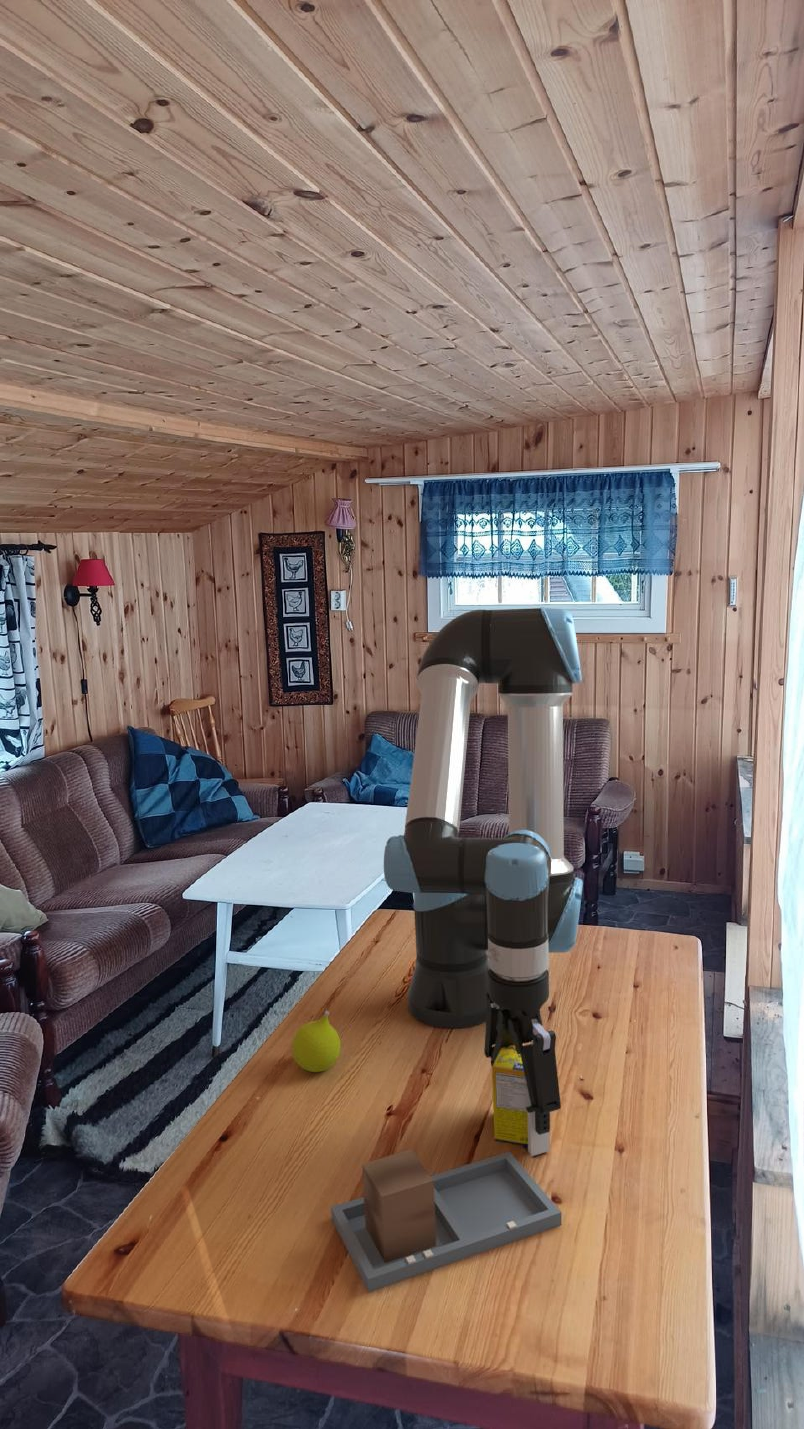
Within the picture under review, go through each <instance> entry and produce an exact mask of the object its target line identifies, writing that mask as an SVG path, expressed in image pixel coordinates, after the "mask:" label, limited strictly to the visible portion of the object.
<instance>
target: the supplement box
mask: <svg viewBox="0 0 804 1429" xmlns="http://www.w3.org/2000/svg"><path fill="white" fill-rule="evenodd" d="M491 1072H492V1074H491V1078H492V1079H491V1080H492V1103H493V1104H492V1106H493V1108H492V1109H493V1132H494V1136H493V1137H494V1141H496V1142H501V1143H507V1144H512V1145H518V1146H522V1148H523V1149H527V1150H528V1121H527V1109H526V1107H527V1106H529V1105H531V1102H530V1097H529V1092H528V1088H527V1083H526V1078H525V1073H524V1069H523V1064H522V1059H521V1055H520V1054H519V1053H517V1052H516V1048H515V1045H511V1046H507V1047H503V1048H501V1050H500V1052H499V1054H498V1056H497V1058H496V1060H495V1062H494V1064H493V1067H492V1066H491Z"/></svg>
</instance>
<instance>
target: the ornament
mask: <svg viewBox="0 0 804 1429" xmlns="http://www.w3.org/2000/svg"><path fill="white" fill-rule="evenodd" d="M329 1015H330V1012H329V1010H325V1012H324V1014H323V1016H322V1017H321V1018H320V1019H318V1020H313V1021H309V1022H306V1023H305V1024H303V1025H301V1027H299V1029H297V1031H296V1032H295V1034H294V1037H293V1039H292V1043H291V1052H292V1056H293V1058H294V1060H295V1062H296V1063H297V1064H298V1066H299V1067H300V1068H302V1069H303V1070H305V1071H308V1072H310V1073H311V1072H312V1073H320V1072H324V1071H327V1070H329V1069H330V1068H331V1067H332V1066H334V1064H335V1063H336V1062H337V1060H338V1059H339V1056H340V1053H341V1047H342V1046H341V1038H340V1036H339V1033H338V1032H337V1030H336V1029H335V1028H334V1027H333V1026H332V1024H330V1021H329Z"/></svg>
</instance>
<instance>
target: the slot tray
mask: <svg viewBox="0 0 804 1429" xmlns="http://www.w3.org/2000/svg"><path fill="white" fill-rule="evenodd" d="M430 1176H431V1177H432V1179H433V1180H434V1203H435V1228H436V1246H434V1247H431V1248H428V1249H425V1250H422V1251H419V1252H416V1253H413V1254H411V1255H408V1256H405V1257H402V1258H399V1259H396V1260H393V1261H390V1262H387V1263H385V1262H384V1260H383V1258H382V1257H381V1255H380V1253H379V1251H378V1249H377V1247H376V1246H375V1244H374V1242H373V1240H372V1238H371V1236H370V1235H369V1233H368V1231H367V1229H366V1226H365V1208H364V1196H362V1197H359V1198H356V1199H353V1200H350V1201H346V1202H343V1203H340V1204H337V1205H334V1206H330V1208H331V1209H330V1211H331V1221H332V1223H333V1225H334V1227H335V1229H336V1231H337V1232H338V1235H339V1237H340V1238H341V1241H342V1242H343V1244H344V1246H345V1248H346V1250H347V1253H348V1254H349V1256H350V1258H351V1260H352V1262H353V1264H354V1266H355V1268H356V1270H357V1272H358V1274H359V1276H360V1278H361V1279H362V1281H363V1283H364V1286H365V1288H366V1290H367V1292H368V1293H371V1292H374V1291H377V1290H379V1289H382V1288H385V1287H388V1286H391V1285H393V1284H397V1283H399V1282H402V1281H406V1280H408V1279H411V1278H413V1277H417V1276H419V1275H423V1274H425V1273H428V1272H431V1271H433V1270H436V1269H440V1268H442V1267H444V1266H448V1265H451V1264H453V1263H456V1262H460V1261H463V1260H465V1259H469V1258H470V1257H474V1256H476V1255H479V1254H482V1253H484V1252H489V1251H491V1250H493V1249H496V1248H499V1247H501V1246H505V1245H508V1244H510V1243H513V1242H516V1241H519V1240H522V1239H525V1238H527V1237H531V1236H533V1235H536V1234H539V1233H542V1232H544V1231H547V1230H550V1229H554V1228H556V1227H559V1226H561V1225H562V1211H561V1210H560V1209H559V1208H558V1206H556V1204H555V1203H554V1202H553V1201H552V1200H551V1198H550V1197H549V1196H548V1195H547V1194H546V1193H545V1191H544V1190H543V1189H542V1188H541V1187H540V1185H538V1183H537V1182H536V1181H535V1180H534V1178H533V1177H532V1176H531V1175H530V1174H529V1173H528V1171H527V1170H526V1169H525V1168H524V1166H522V1164H521V1163H520V1162H519V1161H518V1160H517V1158H515V1156H514V1155H513V1154H512V1152H511V1151H507V1152H503V1153H500V1154H496V1155H494V1156H490V1157H487V1158H483V1159H481V1160H478V1161H475V1162H470V1163H468V1164H465V1165H461V1166H459V1167H456V1168H452V1169H449V1170H445V1171H441V1172H439V1173H436V1174H433V1175H430Z"/></svg>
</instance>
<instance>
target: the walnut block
mask: <svg viewBox="0 0 804 1429" xmlns="http://www.w3.org/2000/svg"><path fill="white" fill-rule="evenodd" d="M361 1167H362V1169H361V1170H362V1171H361V1172H362V1185H363V1187H362V1188H363V1197H364V1208H365V1226H366V1229H367V1231H368V1233H369V1235H370V1236H371V1238H372V1240H373V1242H374V1244H375V1246H376V1247H377V1249H378V1251H379V1253H380V1255H381V1257H382V1258H383V1260H384V1262H385V1263H387V1262H390V1261H393V1260H396V1259H399V1258H402V1257H405V1256H408V1255H411V1254H413V1253H416V1252H419V1251H422V1250H425V1249H428V1248H431V1247H434V1246H436V1228H435V1203H434V1180H433V1179H432V1177H431V1176H432V1175H430V1174H429V1171H428V1170H427V1169H426V1167H425V1165H424V1164H423V1163H422V1162H421V1161H420V1158H418V1156H417V1155H416V1153H415V1151H414V1150H413V1149H407V1150H404V1151H400V1152H398V1153H392V1154H390V1155H387V1156H384V1157H381V1158H378V1159H374V1160H370V1161H367V1162H363V1163H361Z"/></svg>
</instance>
